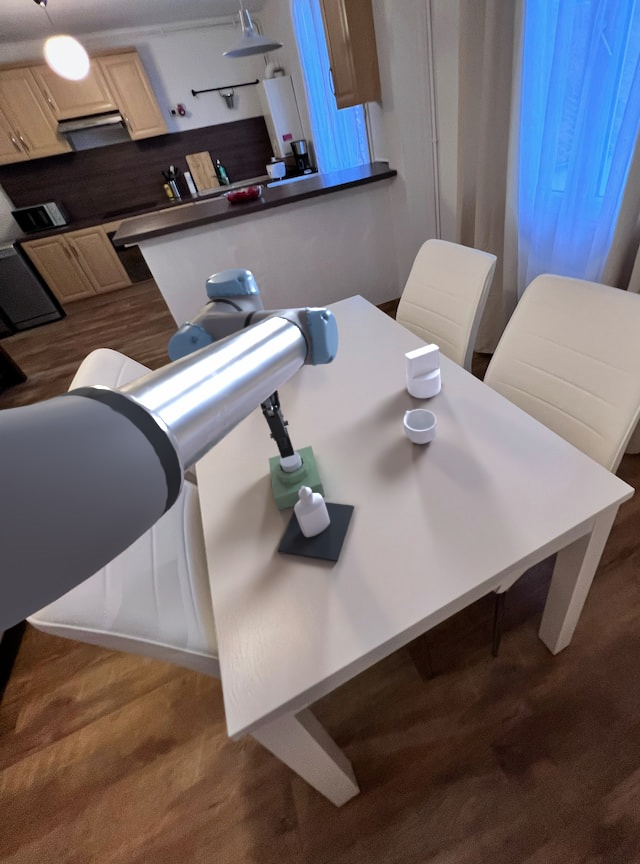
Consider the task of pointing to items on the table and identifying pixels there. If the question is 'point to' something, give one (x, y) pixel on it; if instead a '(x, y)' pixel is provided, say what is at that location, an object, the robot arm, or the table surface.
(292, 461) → the grey round button
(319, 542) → the mat
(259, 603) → the table surface
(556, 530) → the table surface
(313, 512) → the eye dropper bottle
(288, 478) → the green button base
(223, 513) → the table surface
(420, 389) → the cylinder with rectangular tab
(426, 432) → the teacup
